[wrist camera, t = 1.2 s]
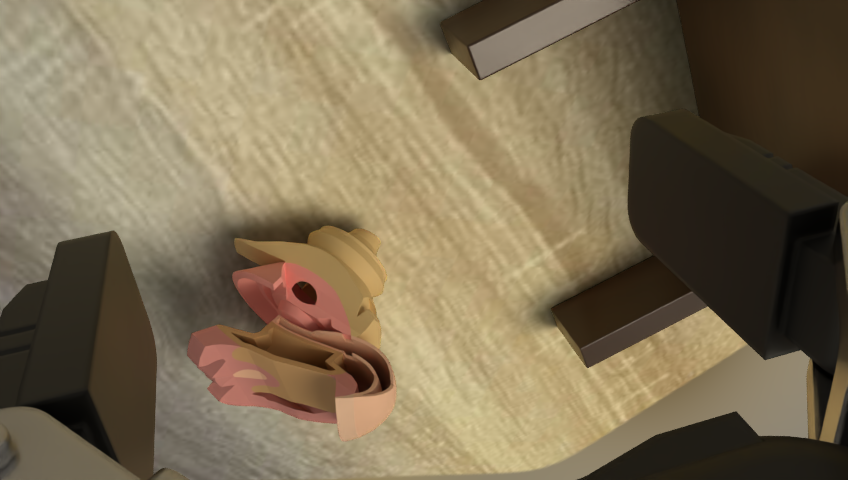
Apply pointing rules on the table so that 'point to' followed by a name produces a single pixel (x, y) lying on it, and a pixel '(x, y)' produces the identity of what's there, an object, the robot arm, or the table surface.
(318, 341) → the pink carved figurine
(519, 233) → the table surface
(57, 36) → the table surface
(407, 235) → the table surface
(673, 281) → the wooden footstool
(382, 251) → the table surface
